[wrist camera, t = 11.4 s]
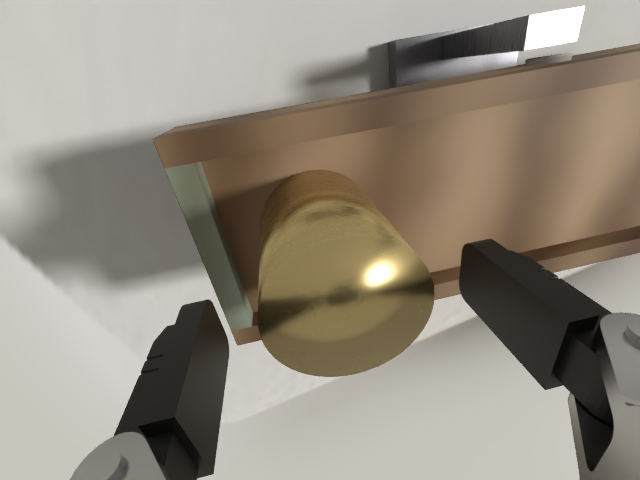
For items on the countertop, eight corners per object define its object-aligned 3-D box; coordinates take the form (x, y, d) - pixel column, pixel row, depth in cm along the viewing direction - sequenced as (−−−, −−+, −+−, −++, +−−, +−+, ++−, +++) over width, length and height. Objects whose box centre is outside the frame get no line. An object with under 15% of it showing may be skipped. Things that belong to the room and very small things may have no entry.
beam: (834, 4, 15) (957, -12, 12) (725, 200, 20) (795, 219, 17) (174, 122, 13) (150, 133, 10) (242, 308, 18) (238, 348, 15)
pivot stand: (509, 21, 19) (649, -12, 12) (483, 218, 26) (563, 270, 19) (388, 42, 19) (463, 20, 12) (394, 238, 25) (443, 298, 18)
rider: (366, 159, 12) (438, 217, 7) (374, 258, 15) (431, 354, 10) (247, 182, 12) (233, 261, 7) (275, 280, 15) (280, 392, 9)
